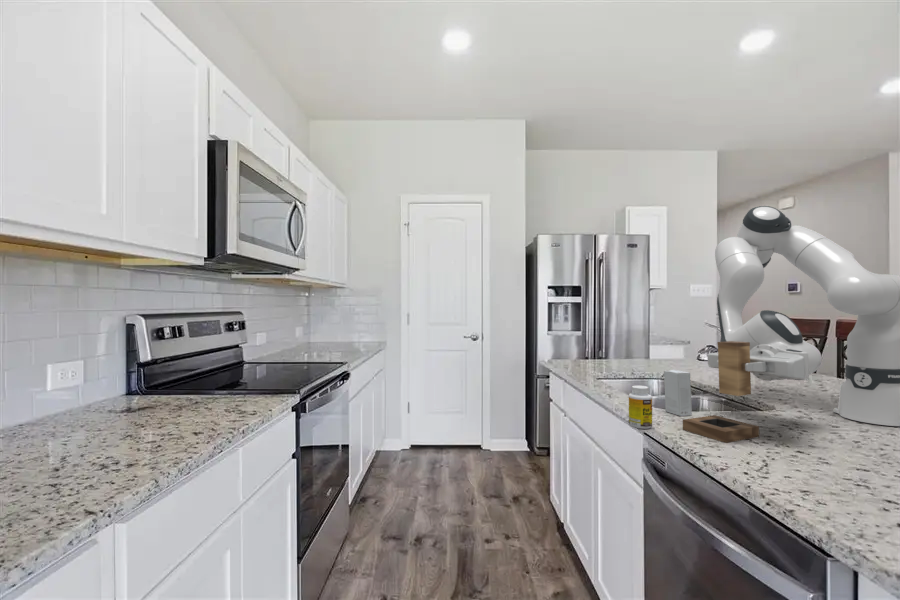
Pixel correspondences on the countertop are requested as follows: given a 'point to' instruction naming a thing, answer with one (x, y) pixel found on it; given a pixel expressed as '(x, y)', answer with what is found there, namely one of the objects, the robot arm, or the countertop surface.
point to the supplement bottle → (640, 408)
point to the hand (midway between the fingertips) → (731, 365)
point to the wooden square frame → (721, 428)
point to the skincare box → (677, 392)
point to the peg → (734, 368)
